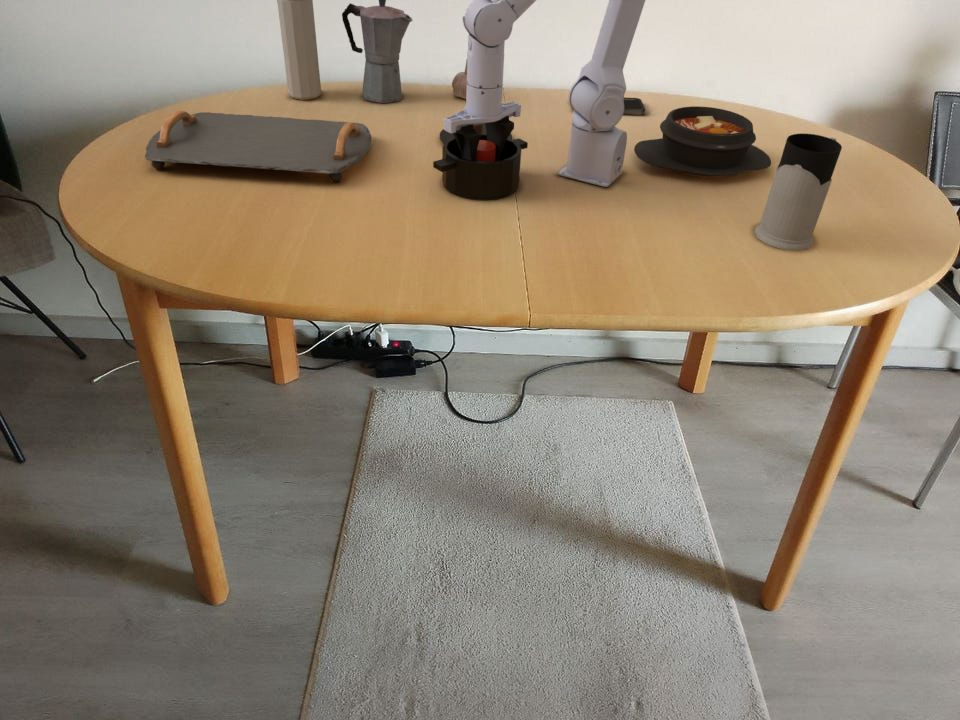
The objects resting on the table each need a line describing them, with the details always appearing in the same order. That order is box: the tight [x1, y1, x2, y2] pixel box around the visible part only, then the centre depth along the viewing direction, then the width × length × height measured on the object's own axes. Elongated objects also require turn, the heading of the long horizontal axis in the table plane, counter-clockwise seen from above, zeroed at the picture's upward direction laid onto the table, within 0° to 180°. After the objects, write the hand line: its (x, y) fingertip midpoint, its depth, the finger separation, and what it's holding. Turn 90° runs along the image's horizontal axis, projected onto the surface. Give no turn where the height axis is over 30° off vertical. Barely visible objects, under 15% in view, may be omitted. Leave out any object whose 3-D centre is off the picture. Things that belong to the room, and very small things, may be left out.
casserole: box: [633, 105, 772, 177], centre depth 132 cm, size 25×19×8 cm
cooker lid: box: [439, 123, 513, 144], centre depth 139 cm, size 14×14×4 cm
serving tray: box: [144, 110, 373, 184], centre depth 129 cm, size 39×23×6 cm, turn 85°
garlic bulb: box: [451, 59, 467, 100], centre depth 158 cm, size 8×7×8 cm
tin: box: [476, 140, 496, 162], centre depth 122 cm, size 5×5×5 cm
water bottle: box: [276, 0, 322, 101], centre depth 150 cm, size 9×8×25 cm
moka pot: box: [341, 0, 413, 104], centre depth 152 cm, size 10×15×20 cm, turn 78°
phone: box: [623, 96, 646, 116], centre depth 157 cm, size 8×1×15 cm
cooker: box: [432, 133, 529, 201], centre depth 123 cm, size 13×18×6 cm
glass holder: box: [754, 132, 843, 251], centre depth 110 cm, size 9×14×15 cm, turn 137°
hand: (481, 165), depth 123 cm, fingers closed on tin, 4 cm apart
